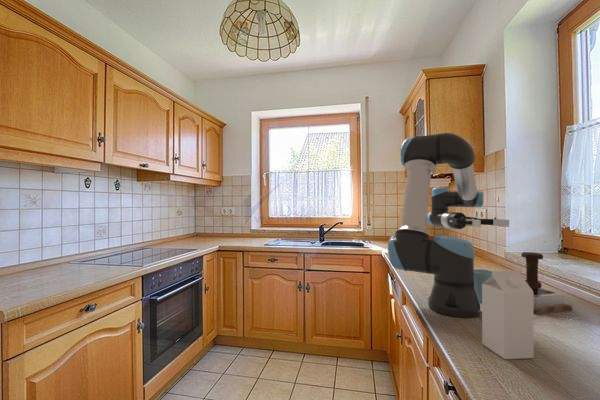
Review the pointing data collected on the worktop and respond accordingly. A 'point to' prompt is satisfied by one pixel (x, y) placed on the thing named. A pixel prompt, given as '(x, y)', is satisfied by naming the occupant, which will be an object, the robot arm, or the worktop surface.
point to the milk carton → (508, 315)
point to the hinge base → (549, 302)
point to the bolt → (532, 270)
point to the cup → (480, 281)
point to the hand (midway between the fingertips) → (494, 223)
